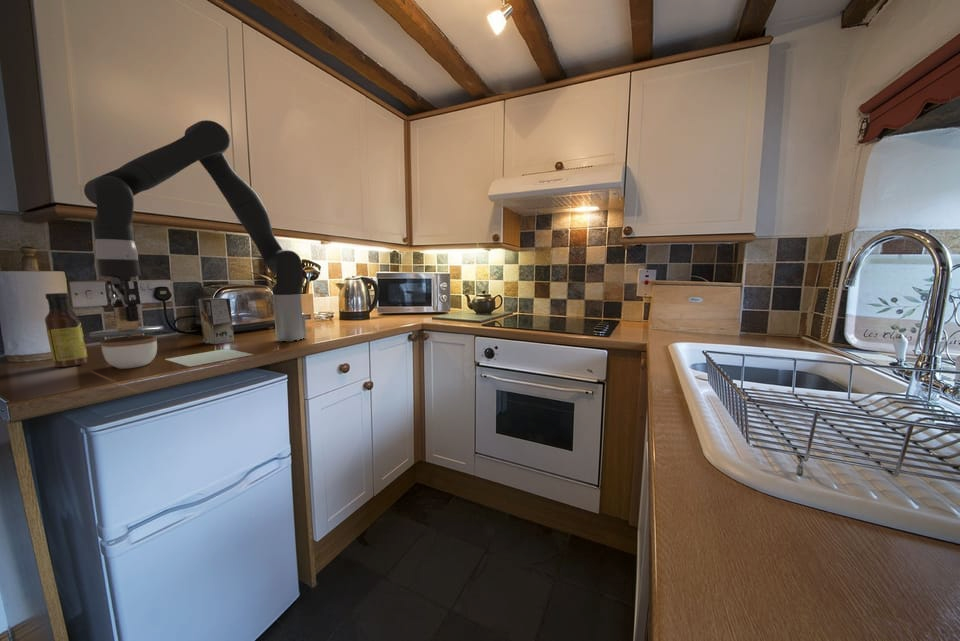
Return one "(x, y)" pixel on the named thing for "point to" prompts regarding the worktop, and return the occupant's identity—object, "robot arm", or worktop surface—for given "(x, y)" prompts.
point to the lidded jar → (129, 350)
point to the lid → (125, 326)
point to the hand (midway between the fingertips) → (126, 320)
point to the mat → (208, 357)
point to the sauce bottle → (64, 332)
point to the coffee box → (216, 320)
